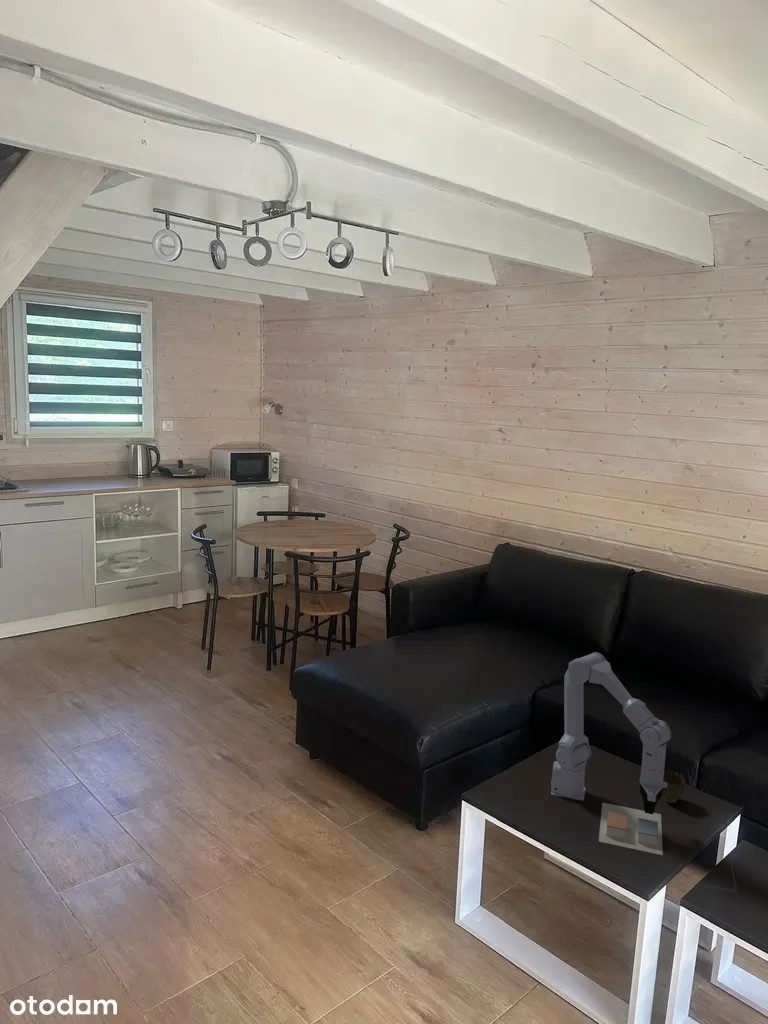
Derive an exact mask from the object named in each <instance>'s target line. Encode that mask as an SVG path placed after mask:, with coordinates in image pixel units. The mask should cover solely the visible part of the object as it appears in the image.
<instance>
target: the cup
mask: <svg viewBox="0 0 768 1024" xmlns="http://www.w3.org/2000/svg"><path fill="white" fill-rule="evenodd" d="M663 781H664V782H667V788H664V787H663V788H662V797H663V801H664V802H666V803H668V804H676V803H677V802H678V801H677V800H679V799H681V798H682V796H683V793H684V791H685V787H686V782H687V779H686V780H685V776H683V774H682V773H681V774H679V772H674V771H670V770H667V771H666V770H664V776H663Z"/></svg>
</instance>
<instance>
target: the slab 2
mask: <svg viewBox="0 0 768 1024" xmlns="http://www.w3.org/2000/svg"><path fill="white" fill-rule="evenodd" d="M637 842H639V843H644V844H649V845H653V846H657V845H658V822H657V821H652V820H647V819H642V818H638V831H637Z"/></svg>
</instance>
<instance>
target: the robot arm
mask: <svg viewBox="0 0 768 1024" xmlns="http://www.w3.org/2000/svg"><path fill="white" fill-rule="evenodd" d="M563 680H564V682H563V685H564V687H563V689H564V690H563V691H564V693H563V694H564V695H563V698H564V700H563V701H564V705H563V706H564V710H563V711H564V713H563V715H564V716H563V717H564V720H563V721H564V734H563V735H562V736H561V738H560V740H559V741H558V748H557V750H556V752H555V759H556V760H555V761H553V766H552V772H551V773H552V776H551V781H550V785H551V789H550V791H551V792H550V794H551V795H553V796H557V797H563V798H569V799H572V800H576V801H577V800H579V801H585V795H586V787H585V778H586V777H585V775H586V774H585V773H586V765H587V761H588V760H589V759H590V758H591V756H592V749H591V746H590V744H589V738H588V736H586V735H585V733H584V731H585V730H584V729H585V728H584V720H585V719H584V709H585V708H584V683H587V681H588V683H590V684H596V685H602V686H603V687H604V688H605V689H606V690H607V691H608V692H609V693H610V694H611V695H612V696H613V697H614V698H615V699H616V700H617V701H618V702H619V703H620V704H621V705H622V707H623V708H622V712H623V714H624V715H625V716H626V717H627V719H628V720H629V721H630V722H631V724H632V725H633V726H634V727H635V729H637V731H638V732H639V738H640V741H641V742H642V758H641V759H642V760H641V769H640V777H639V792H640V795H641V797H642V801H643V811H645V813H648V814H653V813H655V809H656V806H657V804H658V802H659V800H660V799H661V798H662V797H663V795H662V788H663V787H664V788H667V782H664V781H663V776H664V771H665V763H666V754H667V753H666V752H667V742H668V741H669V740H671V738H672V730H671V728H670V726H669V725H668V723H667V722H666V721H664V720H660V719H658V717H656V716H655V715H654V714H653V713H652V712H651V711H650V710H649V709H648V707H647V705H646V703H645V702H644V701H642V700H641V699H637V698H634V697H632V695H631V694H630V692H629V691H628V689H626V687H625V686H624V685H623V683H622V682H621V681H620V680H619V678H618V676H616V674H615V673H614V672H613V670H612V666H611V663H610V662H608V660H606V657H604V655H603V654H601V653H599V652H597V651H595V652H591V653H590V654H588V655H587V654H586V655H584V656H582V657H579V658H575V659H573V660H571V661H569V662H568V668H567V670H566V672H565V674H564V678H563Z"/></svg>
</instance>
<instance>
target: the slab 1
mask: <svg viewBox="0 0 768 1024" xmlns="http://www.w3.org/2000/svg"><path fill="white" fill-rule="evenodd" d="M626 827H627V815H623V814H618V813H613V812H608V818H607V830H606V836H611V837H616V838H620V839H625V840H626Z"/></svg>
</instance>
